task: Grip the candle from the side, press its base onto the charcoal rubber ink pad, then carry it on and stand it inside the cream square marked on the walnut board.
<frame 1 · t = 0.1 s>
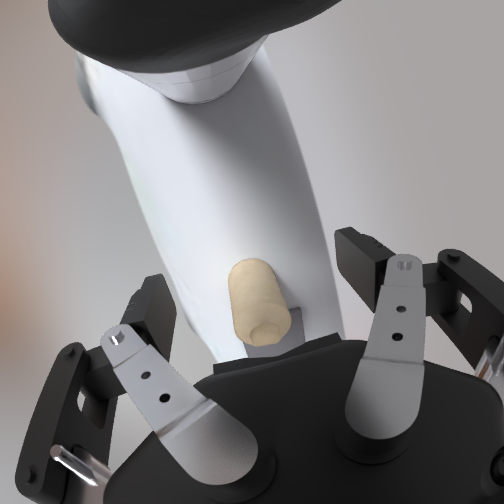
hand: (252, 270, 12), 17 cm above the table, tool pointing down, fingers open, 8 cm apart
candle: (250, 277, 33), on the table
ink pad: (273, 338, 38), on the table
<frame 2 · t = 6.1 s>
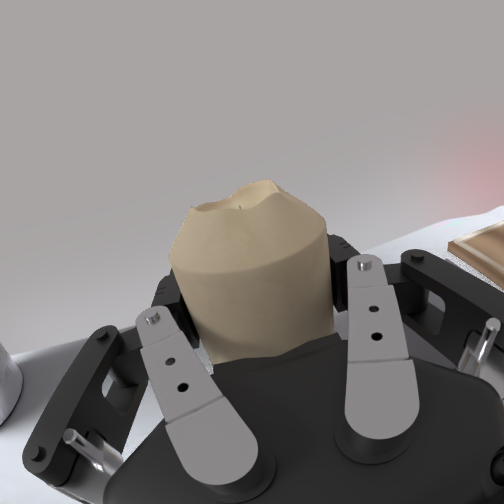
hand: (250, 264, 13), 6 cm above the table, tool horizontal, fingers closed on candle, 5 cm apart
candle: (282, 387, 13), on the table, touching gripper
ink pad: (440, 312, 14), on the table
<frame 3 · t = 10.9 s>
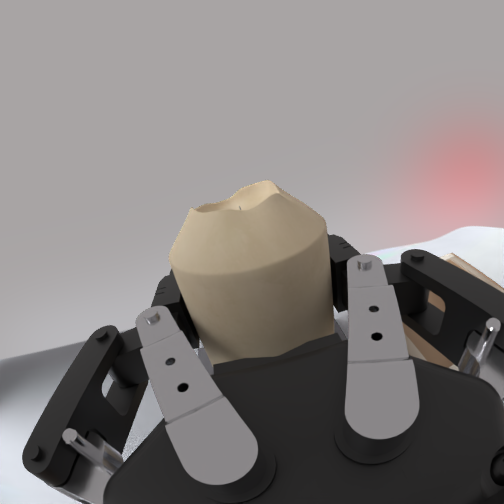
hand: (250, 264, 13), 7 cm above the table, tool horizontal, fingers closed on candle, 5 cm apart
candle: (282, 388, 13), resting on ink pad, touching gripper
target board: (445, 313, 15), on the table
ink pad: (280, 390, 13), on the table
when the fingers open (8 cm above the table, at t = 15.8 s): candle stays where it is, resting on target board.
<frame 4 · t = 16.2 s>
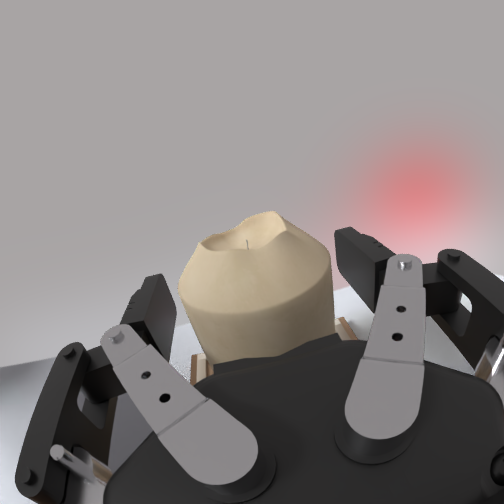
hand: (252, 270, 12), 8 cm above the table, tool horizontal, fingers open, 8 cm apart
candle: (285, 402, 13), point 1 cm above the table, touching target board
target board: (285, 404, 14), on the table
ink pad: (103, 437, 13), on the table
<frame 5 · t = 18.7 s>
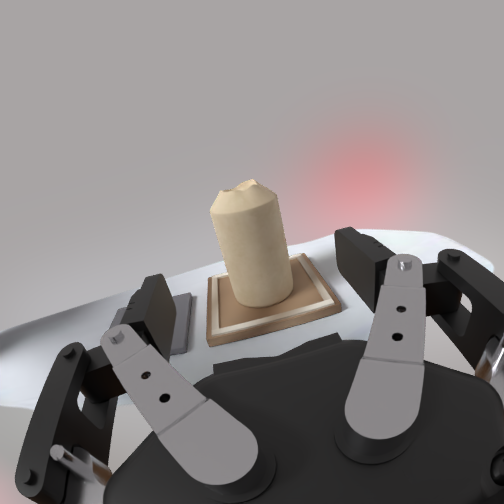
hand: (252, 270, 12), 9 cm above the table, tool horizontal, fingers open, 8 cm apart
candle: (264, 292, 25), point 1 cm above the table, touching target board
target board: (265, 296, 26), on the table
ink pad: (147, 329, 25), on the table
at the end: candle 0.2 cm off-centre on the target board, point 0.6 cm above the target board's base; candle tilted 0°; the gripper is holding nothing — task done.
